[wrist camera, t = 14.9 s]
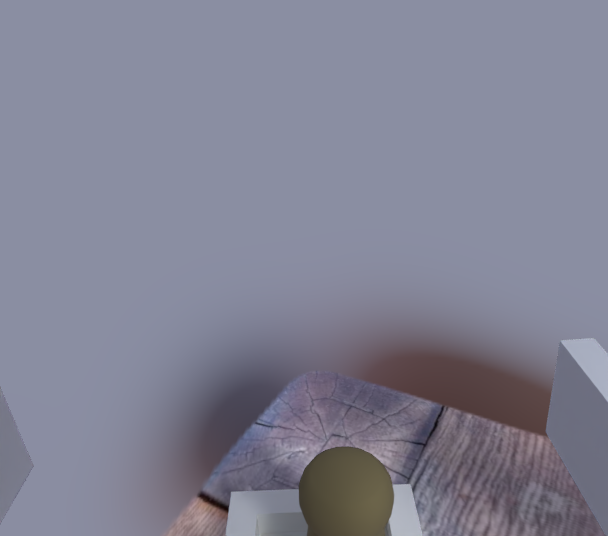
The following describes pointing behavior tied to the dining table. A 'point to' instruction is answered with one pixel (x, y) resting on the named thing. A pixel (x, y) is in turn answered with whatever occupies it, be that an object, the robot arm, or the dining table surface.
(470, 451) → the dining table surface
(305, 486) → the olive pawn
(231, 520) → the well block
